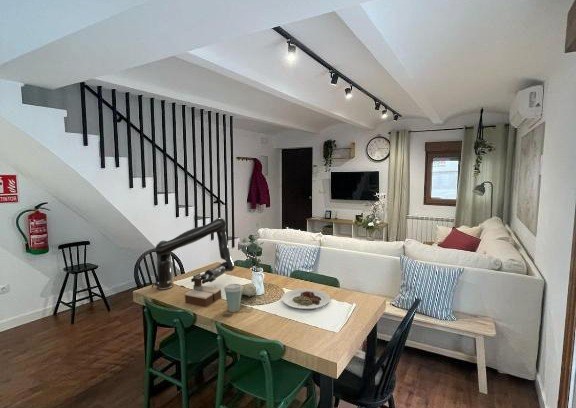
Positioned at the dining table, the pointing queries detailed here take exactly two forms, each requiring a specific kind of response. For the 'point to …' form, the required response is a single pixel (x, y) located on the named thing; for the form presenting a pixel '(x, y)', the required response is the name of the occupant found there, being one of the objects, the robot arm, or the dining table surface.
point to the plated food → (306, 298)
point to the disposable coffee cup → (233, 296)
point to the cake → (203, 296)
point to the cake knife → (198, 284)
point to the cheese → (249, 290)
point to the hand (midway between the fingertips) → (196, 281)
